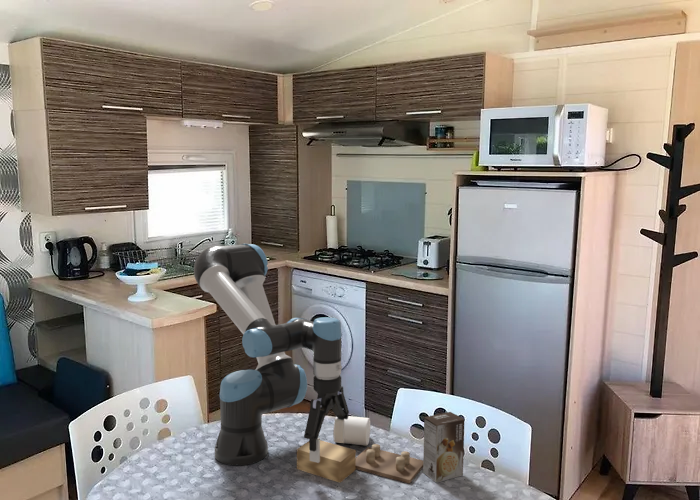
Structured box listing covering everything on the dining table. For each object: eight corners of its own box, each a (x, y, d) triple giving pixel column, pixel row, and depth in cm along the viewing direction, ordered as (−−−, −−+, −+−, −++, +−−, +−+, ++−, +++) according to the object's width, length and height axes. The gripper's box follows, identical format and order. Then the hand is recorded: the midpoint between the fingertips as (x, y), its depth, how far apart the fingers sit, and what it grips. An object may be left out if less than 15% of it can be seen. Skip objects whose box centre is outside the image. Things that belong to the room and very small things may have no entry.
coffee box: (449, 465, 164) (451, 410, 162) (463, 476, 158) (465, 419, 156) (421, 472, 160) (423, 416, 158) (435, 483, 154) (437, 425, 152)
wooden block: (296, 469, 161) (296, 449, 160) (312, 458, 168) (313, 438, 167) (340, 483, 154) (340, 462, 153) (355, 470, 161) (355, 450, 160)
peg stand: (349, 467, 162) (349, 453, 161) (368, 449, 172) (368, 437, 172) (409, 483, 154) (410, 469, 153) (425, 464, 164) (426, 450, 164)
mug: (365, 450, 172) (366, 424, 171) (332, 446, 174) (333, 421, 173) (372, 433, 184) (372, 409, 183) (341, 430, 186) (341, 406, 185)
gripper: (315, 391, 145) (315, 473, 147) (360, 365, 167) (360, 436, 169) (290, 387, 148) (290, 467, 150) (337, 361, 170) (337, 431, 172)
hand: (327, 451), depth 160 cm, fingers open, 13 cm apart
